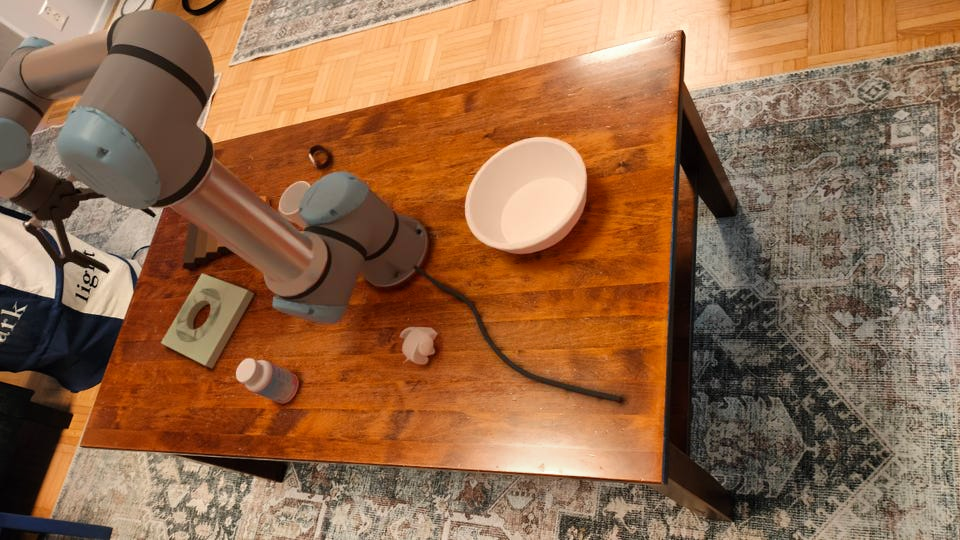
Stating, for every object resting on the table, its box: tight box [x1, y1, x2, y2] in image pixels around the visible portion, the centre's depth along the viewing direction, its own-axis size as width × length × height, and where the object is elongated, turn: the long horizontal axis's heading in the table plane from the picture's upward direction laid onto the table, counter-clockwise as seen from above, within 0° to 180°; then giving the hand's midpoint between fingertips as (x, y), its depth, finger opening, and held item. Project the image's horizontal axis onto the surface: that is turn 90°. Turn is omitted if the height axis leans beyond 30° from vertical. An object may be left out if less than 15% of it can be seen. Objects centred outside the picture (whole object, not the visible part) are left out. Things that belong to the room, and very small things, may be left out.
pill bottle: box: [235, 357, 300, 404], centre depth 123 cm, size 6×6×11 cm
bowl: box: [464, 136, 588, 255], centre depth 115 cm, size 22×22×8 cm
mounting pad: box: [160, 273, 255, 369], centre depth 146 cm, size 18×18×2 cm
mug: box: [278, 180, 312, 230], centre depth 139 cm, size 12×8×12 cm
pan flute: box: [182, 195, 271, 271], centre depth 161 cm, size 25×3×25 cm
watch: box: [308, 144, 332, 171], centre depth 153 cm, size 8×5×4 cm, turn 28°
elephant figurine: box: [399, 326, 439, 365], centre depth 114 cm, size 7×8×6 cm
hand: (130, 241), depth 127 cm, fingers open, 13 cm apart
